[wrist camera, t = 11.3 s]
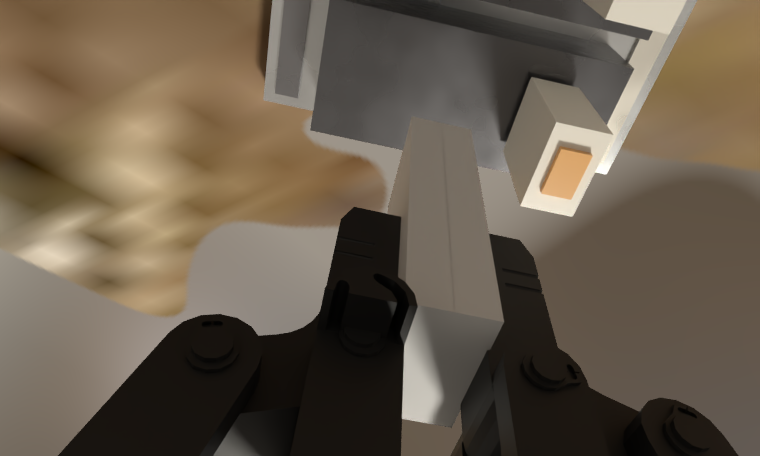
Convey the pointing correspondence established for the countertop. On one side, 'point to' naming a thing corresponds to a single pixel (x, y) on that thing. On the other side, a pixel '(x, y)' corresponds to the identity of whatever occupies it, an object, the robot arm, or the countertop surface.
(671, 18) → the handle mid
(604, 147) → the handle
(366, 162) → the countertop surface
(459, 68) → the panel
